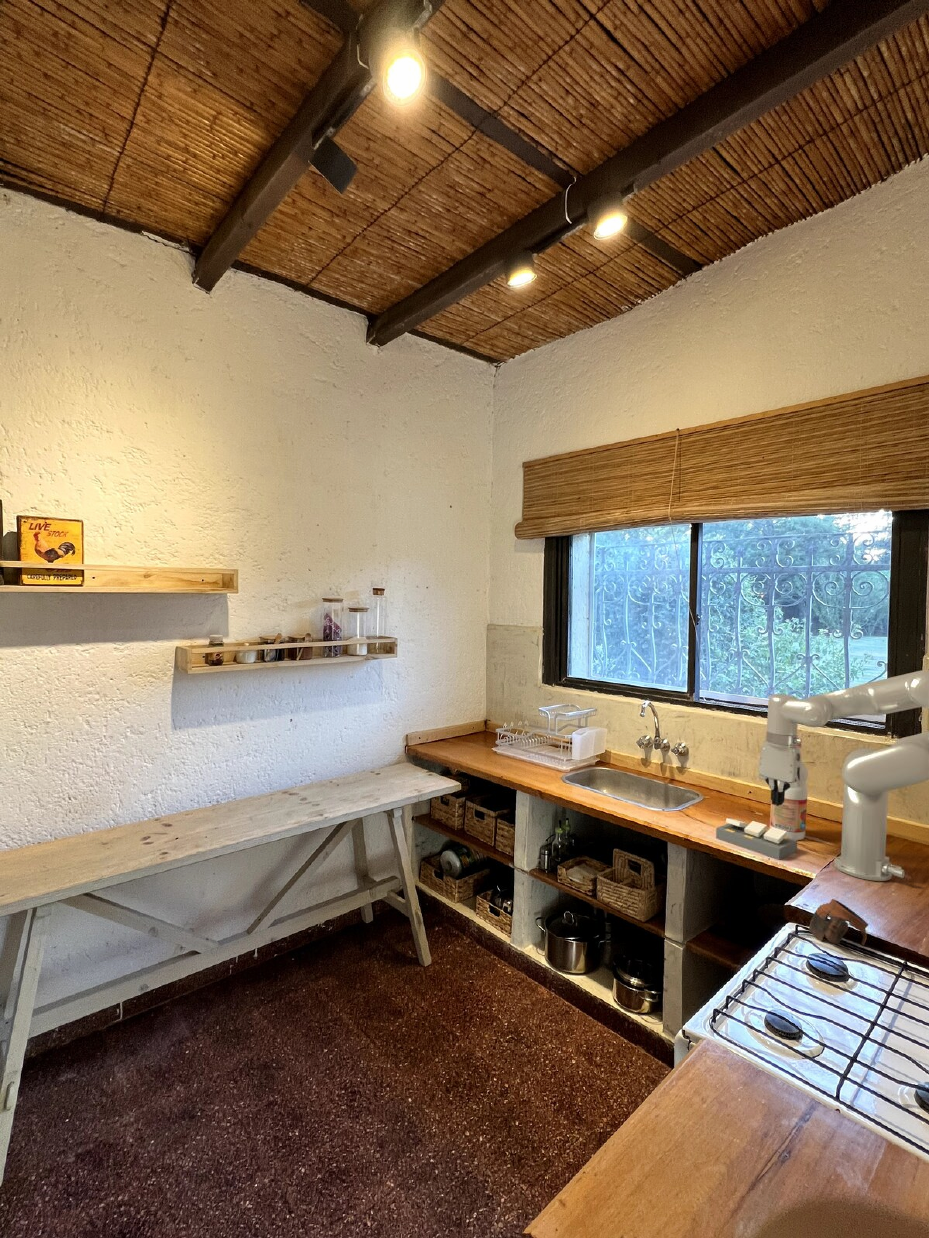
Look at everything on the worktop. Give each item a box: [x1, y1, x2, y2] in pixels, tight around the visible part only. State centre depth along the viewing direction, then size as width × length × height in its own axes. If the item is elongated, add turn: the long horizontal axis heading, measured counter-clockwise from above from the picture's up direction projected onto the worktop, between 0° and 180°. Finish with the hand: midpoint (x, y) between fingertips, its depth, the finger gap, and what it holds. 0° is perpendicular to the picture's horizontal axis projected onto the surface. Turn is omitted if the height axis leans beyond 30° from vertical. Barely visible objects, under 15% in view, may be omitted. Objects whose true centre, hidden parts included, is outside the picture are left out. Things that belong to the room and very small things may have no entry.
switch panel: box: [715, 823, 798, 861], centre depth 170 cm, size 18×10×3 cm, turn 37°
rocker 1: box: [725, 817, 749, 828], centre depth 174 cm, size 4×5×2 cm
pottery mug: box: [808, 898, 869, 946], centre depth 121 cm, size 12×10×8 cm
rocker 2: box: [744, 820, 768, 837], centre depth 170 cm, size 4×5×2 cm
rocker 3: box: [764, 827, 787, 844], centre depth 165 cm, size 4×5×2 cm
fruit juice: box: [769, 743, 809, 841], centre depth 178 cm, size 9×9×28 cm
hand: (777, 804), depth 166 cm, fingers closed
